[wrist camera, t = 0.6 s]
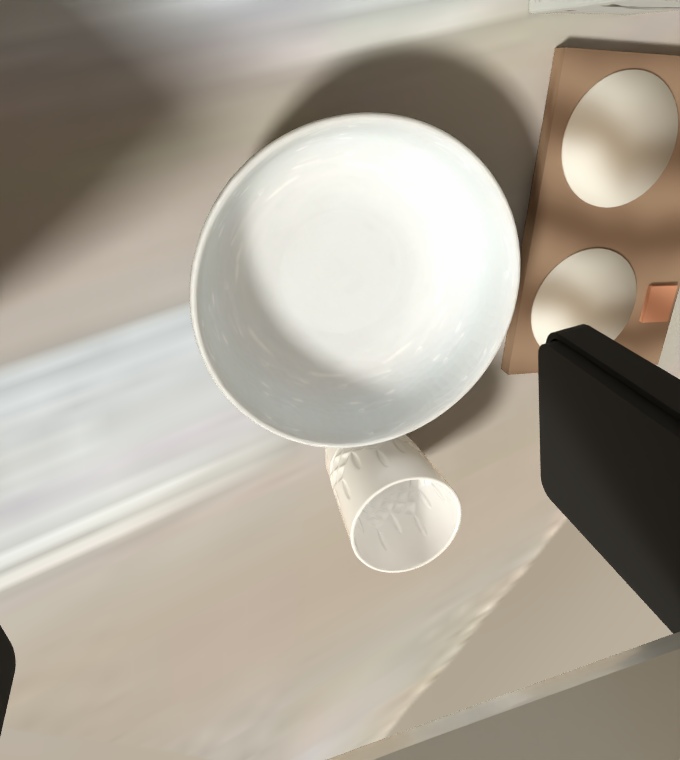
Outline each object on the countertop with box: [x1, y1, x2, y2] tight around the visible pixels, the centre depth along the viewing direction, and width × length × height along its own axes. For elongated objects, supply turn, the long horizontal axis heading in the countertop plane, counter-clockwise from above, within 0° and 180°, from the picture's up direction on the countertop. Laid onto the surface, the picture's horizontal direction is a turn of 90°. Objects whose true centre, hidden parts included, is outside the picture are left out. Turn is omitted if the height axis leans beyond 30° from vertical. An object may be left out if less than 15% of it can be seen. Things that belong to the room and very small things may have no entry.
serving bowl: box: [190, 112, 520, 448], centre depth 42 cm, size 21×21×7 cm
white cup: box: [325, 434, 462, 573], centre depth 48 cm, size 8×8×10 cm
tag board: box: [501, 47, 680, 375], centre depth 48 cm, size 23×14×2 cm, turn 177°
